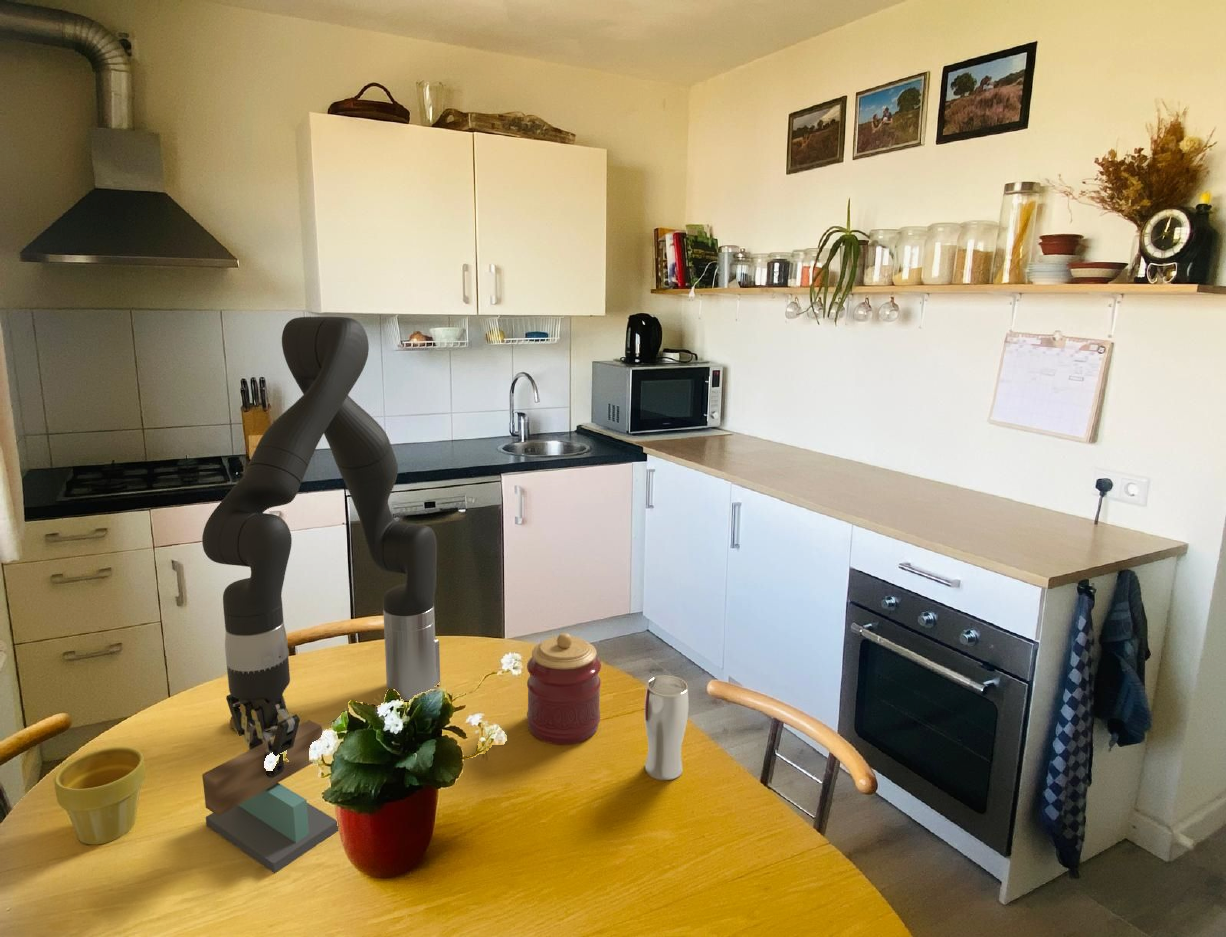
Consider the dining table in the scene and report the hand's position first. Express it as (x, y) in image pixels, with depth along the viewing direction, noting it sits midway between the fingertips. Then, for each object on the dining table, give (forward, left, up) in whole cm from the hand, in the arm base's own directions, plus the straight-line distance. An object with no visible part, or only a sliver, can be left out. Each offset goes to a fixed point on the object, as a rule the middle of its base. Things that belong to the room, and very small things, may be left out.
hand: (267, 769), depth 105 cm
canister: (-45, +18, -10) cm, 49 cm away
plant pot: (+13, -19, -10) cm, 25 cm away
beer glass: (-44, +39, -10) cm, 60 cm away
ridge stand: (0, 0, -9) cm, 9 cm away
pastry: (-16, -26, -10) cm, 32 cm away
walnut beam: (0, 0, -2) cm, 2 cm away
